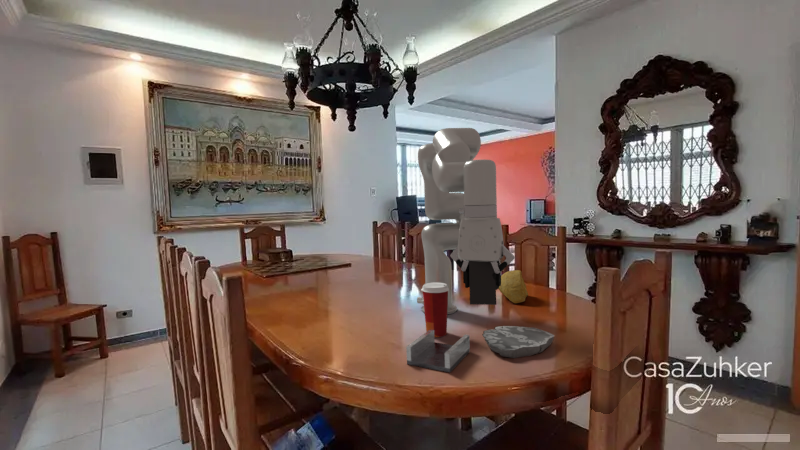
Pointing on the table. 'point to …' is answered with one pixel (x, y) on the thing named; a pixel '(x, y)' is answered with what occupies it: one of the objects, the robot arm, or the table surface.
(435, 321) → the coffee cup
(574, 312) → the table surface
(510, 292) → the decorative stone
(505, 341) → the brain slice
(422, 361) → the guide cradle
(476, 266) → the phone stand
